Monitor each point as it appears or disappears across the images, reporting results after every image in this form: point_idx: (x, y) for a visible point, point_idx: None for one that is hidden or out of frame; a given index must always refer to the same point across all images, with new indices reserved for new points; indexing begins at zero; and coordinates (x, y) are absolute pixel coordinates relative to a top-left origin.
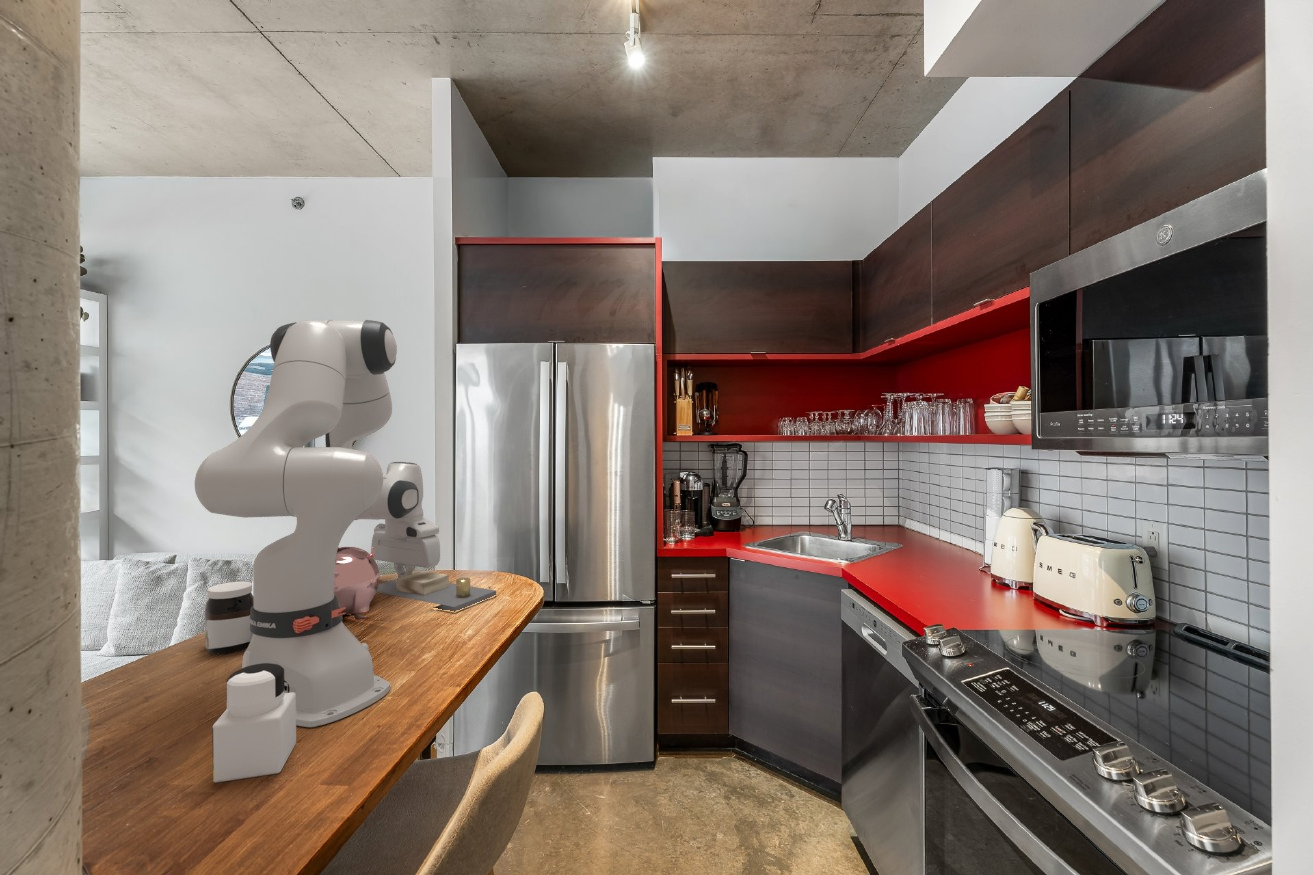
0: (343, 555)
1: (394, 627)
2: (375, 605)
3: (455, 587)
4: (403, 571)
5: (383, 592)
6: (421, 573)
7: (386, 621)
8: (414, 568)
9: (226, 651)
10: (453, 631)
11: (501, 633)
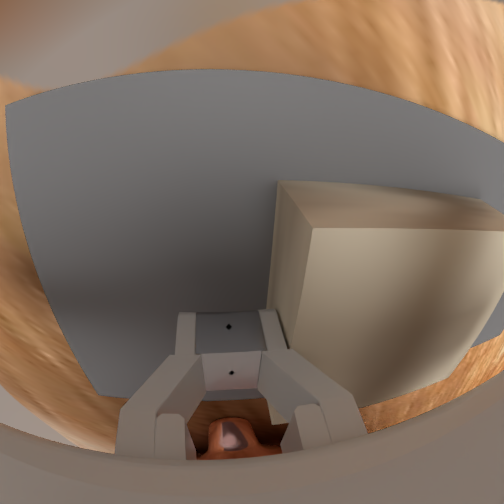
0: None
1: (401, 412)
2: (265, 405)
3: (500, 196)
4: (193, 374)
5: (226, 394)
6: (375, 302)
7: (374, 415)
8: (339, 385)
9: None
10: (486, 363)
11: None
